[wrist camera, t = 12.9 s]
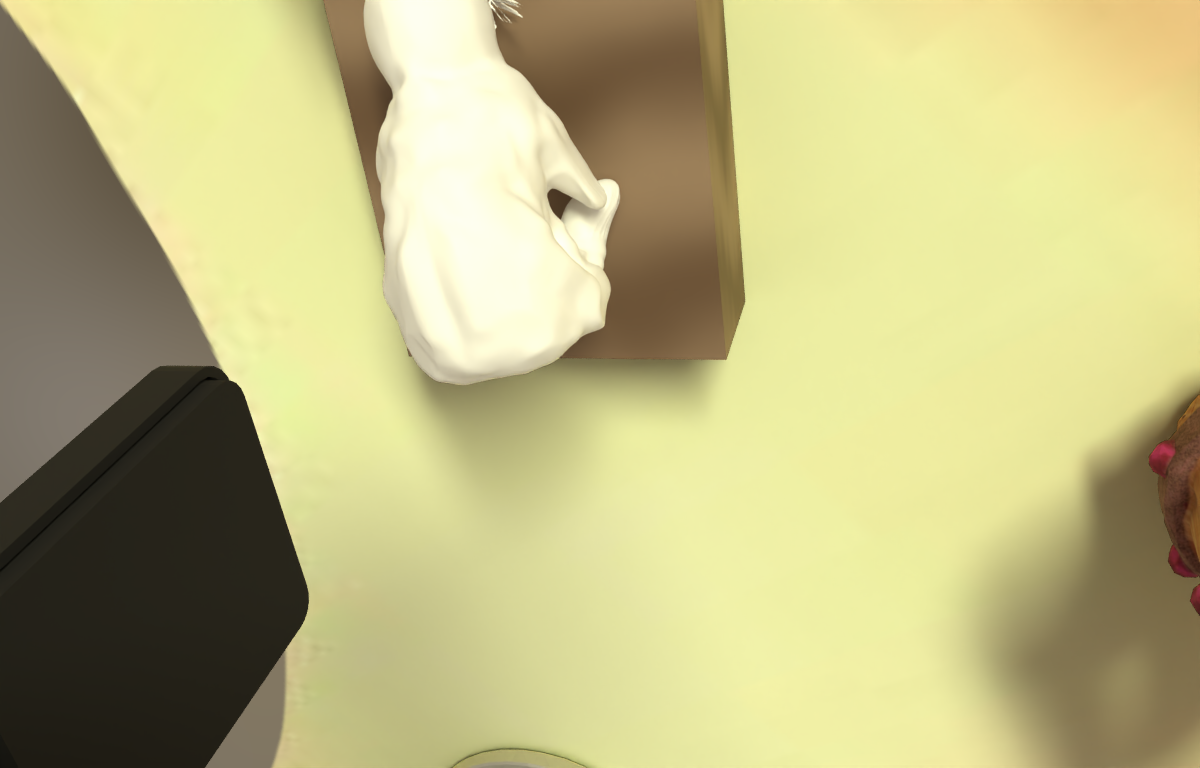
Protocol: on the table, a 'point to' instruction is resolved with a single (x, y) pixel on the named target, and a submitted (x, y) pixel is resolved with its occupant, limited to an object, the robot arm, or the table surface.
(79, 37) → the table surface
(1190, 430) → the mug
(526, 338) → the white animal figurine
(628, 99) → the display ledge
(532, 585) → the table surface
